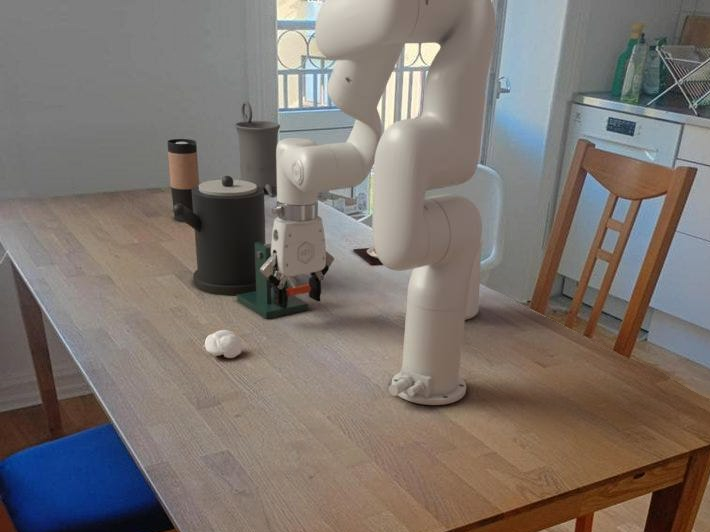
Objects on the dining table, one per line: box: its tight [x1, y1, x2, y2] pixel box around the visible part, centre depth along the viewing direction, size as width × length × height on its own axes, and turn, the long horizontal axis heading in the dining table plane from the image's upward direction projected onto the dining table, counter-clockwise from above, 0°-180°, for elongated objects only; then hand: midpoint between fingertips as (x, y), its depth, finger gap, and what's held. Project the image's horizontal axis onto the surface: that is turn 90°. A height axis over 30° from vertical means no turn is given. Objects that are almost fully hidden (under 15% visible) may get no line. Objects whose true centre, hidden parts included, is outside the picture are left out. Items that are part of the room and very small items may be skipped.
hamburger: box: [352, 246, 383, 266], centre depth 194 cm, size 12×12×6 cm
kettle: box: [172, 175, 267, 296], centre depth 169 cm, size 20×21×23 cm
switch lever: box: [265, 243, 311, 296], centre depth 156 cm, size 13×5×2 cm, turn 36°
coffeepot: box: [465, 238, 484, 321], centre depth 159 cm, size 11×25×19 cm, turn 168°
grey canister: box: [234, 100, 281, 197], centre depth 243 cm, size 19×15×25 cm
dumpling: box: [202, 329, 243, 359], centre depth 141 cm, size 7×5×4 cm
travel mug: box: [167, 138, 200, 223], centre depth 213 cm, size 8×8×20 cm
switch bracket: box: [236, 242, 309, 320], centre depth 160 cm, size 12×10×13 cm
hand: (297, 302), depth 155 cm, fingers open, 7 cm apart
